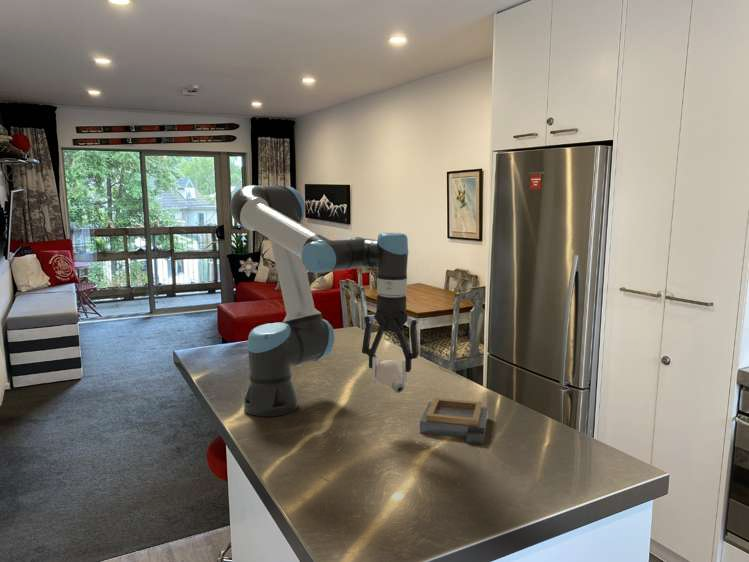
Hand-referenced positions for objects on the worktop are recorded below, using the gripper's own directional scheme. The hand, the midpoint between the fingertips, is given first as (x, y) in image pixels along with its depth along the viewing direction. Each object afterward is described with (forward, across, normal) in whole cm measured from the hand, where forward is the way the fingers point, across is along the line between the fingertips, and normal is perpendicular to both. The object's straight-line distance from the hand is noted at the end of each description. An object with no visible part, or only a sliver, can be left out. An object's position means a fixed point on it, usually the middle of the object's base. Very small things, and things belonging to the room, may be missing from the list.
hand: (389, 381), depth 143 cm
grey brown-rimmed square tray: (+12, +17, +5) cm, 21 cm away
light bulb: (+1, +1, -2) cm, 2 cm away
